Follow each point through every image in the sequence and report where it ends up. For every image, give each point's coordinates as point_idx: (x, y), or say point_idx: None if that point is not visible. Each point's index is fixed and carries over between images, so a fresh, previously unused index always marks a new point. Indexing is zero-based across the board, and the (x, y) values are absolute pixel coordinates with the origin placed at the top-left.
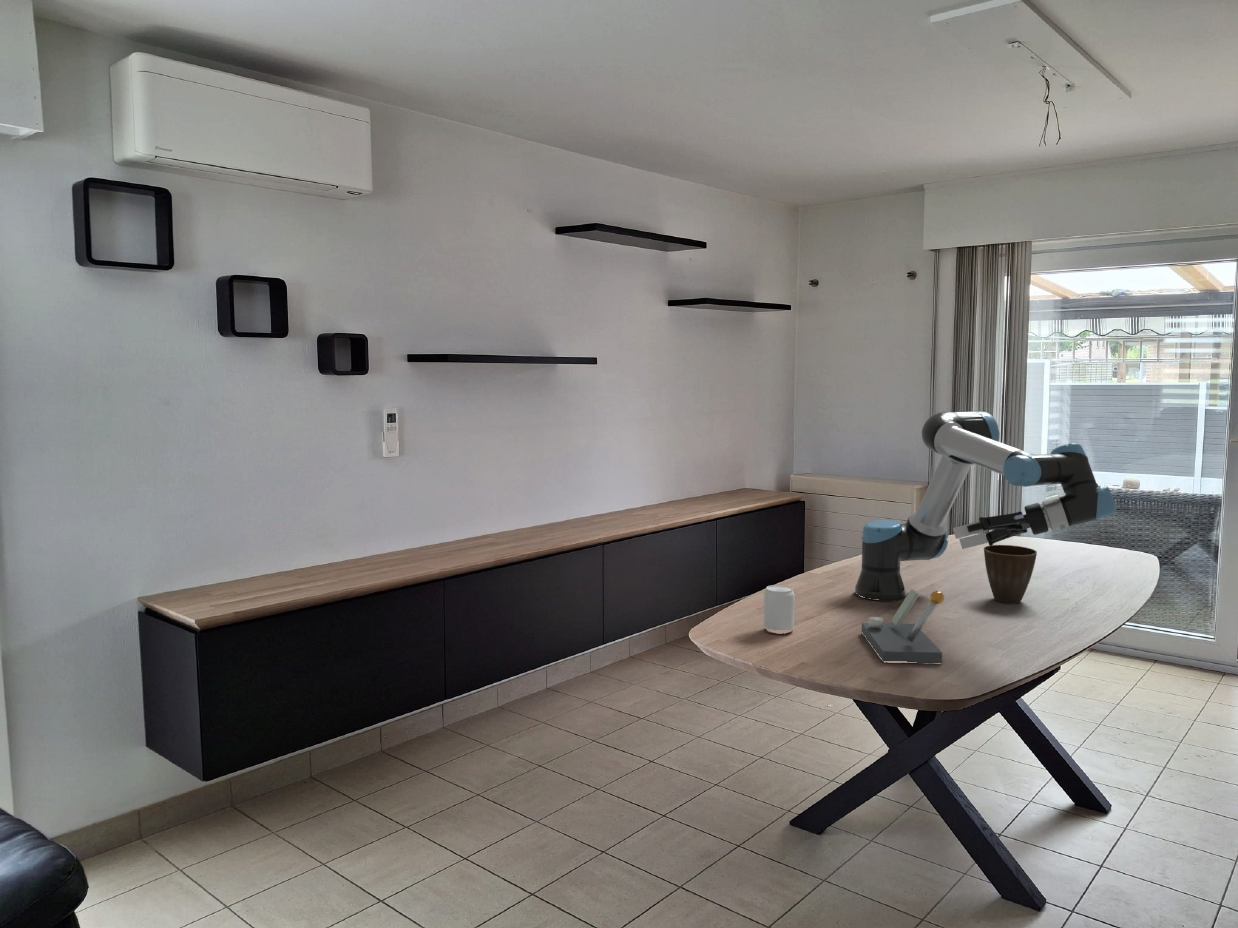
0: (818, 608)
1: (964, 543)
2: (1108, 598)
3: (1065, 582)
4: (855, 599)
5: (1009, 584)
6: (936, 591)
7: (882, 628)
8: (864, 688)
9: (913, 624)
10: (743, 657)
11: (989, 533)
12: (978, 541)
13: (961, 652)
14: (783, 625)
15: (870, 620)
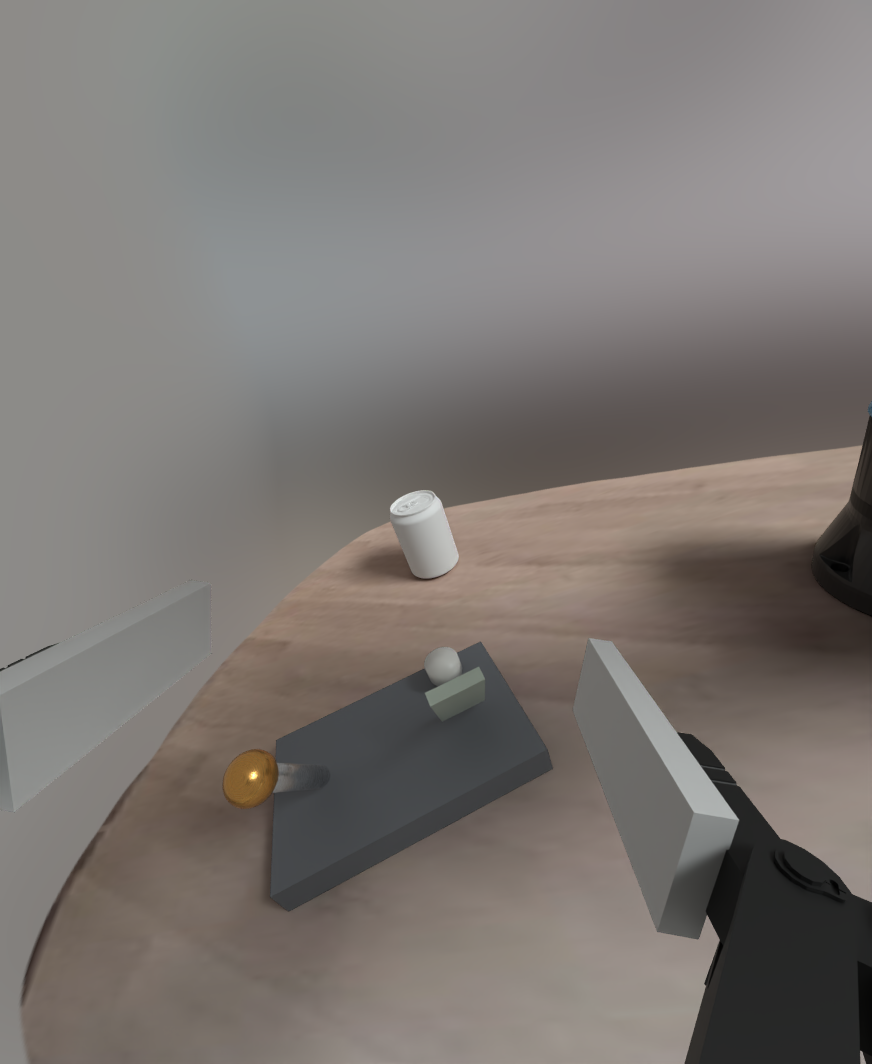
0: (620, 547)
1: (586, 696)
2: None
3: None
4: (779, 559)
5: None
6: (236, 762)
7: None
8: (154, 762)
9: (535, 748)
10: (304, 585)
11: (737, 906)
12: (626, 800)
13: (425, 980)
14: (408, 563)
15: (429, 655)
